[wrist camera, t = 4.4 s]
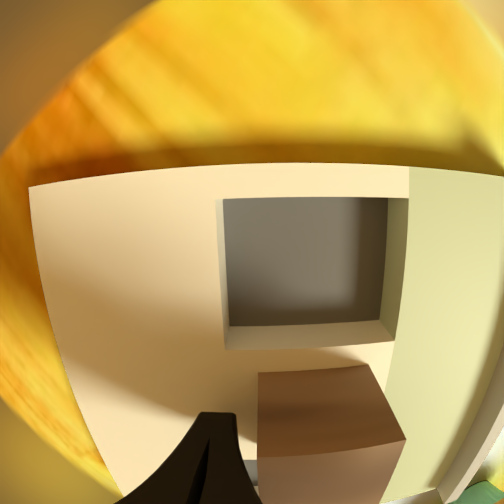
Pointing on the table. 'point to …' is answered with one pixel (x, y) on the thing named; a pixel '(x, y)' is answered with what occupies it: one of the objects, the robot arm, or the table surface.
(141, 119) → the table surface
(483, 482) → the cupcake
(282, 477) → the walnut block
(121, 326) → the board
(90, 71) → the table surface
